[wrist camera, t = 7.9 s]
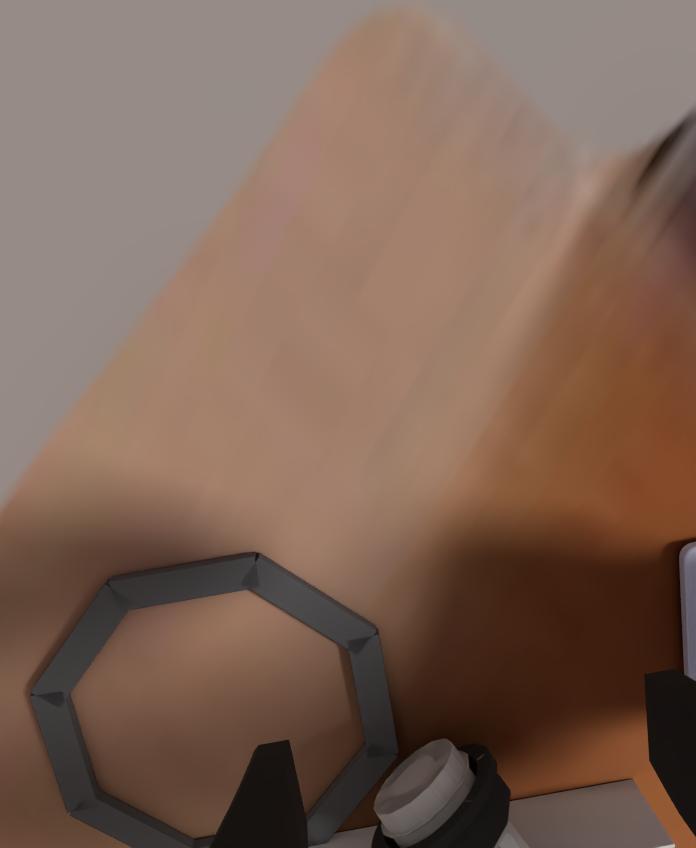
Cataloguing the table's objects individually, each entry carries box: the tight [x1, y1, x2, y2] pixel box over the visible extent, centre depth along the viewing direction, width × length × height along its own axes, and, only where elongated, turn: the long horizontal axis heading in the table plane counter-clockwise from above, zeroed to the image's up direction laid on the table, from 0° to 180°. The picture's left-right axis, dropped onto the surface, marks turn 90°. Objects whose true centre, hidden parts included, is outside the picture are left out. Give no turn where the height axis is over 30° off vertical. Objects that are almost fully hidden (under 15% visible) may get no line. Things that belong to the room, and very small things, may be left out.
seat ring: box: [30, 552, 399, 848], centre depth 23 cm, size 13×13×1 cm
